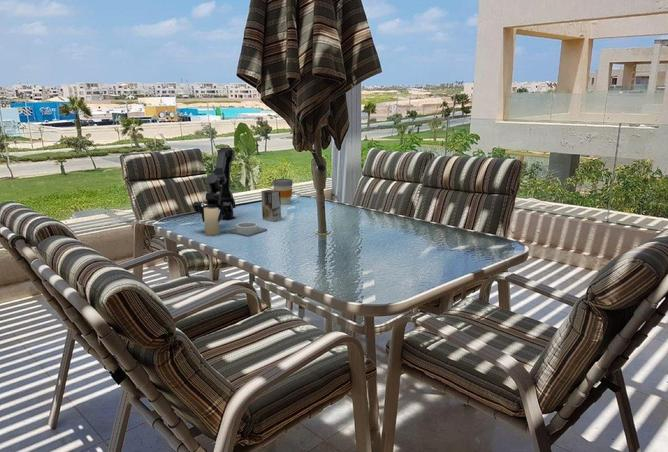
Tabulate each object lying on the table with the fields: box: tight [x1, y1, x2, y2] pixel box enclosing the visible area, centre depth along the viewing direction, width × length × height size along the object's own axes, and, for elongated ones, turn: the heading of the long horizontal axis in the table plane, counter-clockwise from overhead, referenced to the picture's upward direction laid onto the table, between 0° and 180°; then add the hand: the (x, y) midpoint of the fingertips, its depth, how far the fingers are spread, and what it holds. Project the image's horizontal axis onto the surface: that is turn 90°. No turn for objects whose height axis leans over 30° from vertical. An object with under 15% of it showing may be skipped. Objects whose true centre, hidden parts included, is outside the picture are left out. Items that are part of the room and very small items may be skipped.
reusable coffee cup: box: [272, 178, 293, 206], centre depth 318 cm, size 13×13×15 cm
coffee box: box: [261, 189, 282, 223], centre depth 275 cm, size 9×6×16 cm
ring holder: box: [226, 221, 268, 238], centre depth 251 cm, size 14×14×4 cm
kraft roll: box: [203, 207, 221, 237], centre depth 245 cm, size 7×7×13 cm
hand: (210, 221), depth 244 cm, fingers closed on kraft roll, 7 cm apart
